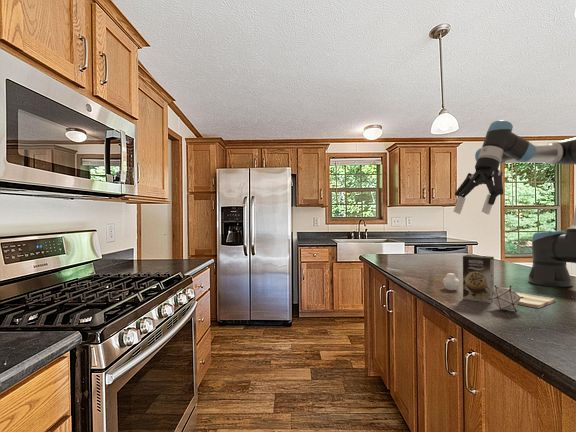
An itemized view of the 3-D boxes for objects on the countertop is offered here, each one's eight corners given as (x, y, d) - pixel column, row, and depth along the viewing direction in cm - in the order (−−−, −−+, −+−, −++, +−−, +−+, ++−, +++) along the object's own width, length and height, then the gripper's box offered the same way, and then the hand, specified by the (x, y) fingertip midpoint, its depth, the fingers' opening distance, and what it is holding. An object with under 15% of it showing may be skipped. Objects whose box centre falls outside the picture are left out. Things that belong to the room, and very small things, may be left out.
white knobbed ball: (441, 289, 136) (440, 273, 136) (445, 287, 141) (445, 270, 141) (457, 291, 132) (457, 274, 132) (461, 289, 137) (460, 272, 137)
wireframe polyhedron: (506, 320, 108) (517, 294, 110) (521, 318, 100) (533, 290, 102) (479, 305, 110) (491, 280, 112) (492, 302, 102) (504, 275, 104)
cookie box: (462, 299, 120) (461, 256, 120) (467, 296, 125) (466, 254, 125) (490, 303, 114) (490, 257, 114) (494, 299, 119) (494, 255, 119)
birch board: (514, 294, 126) (514, 291, 126) (555, 301, 115) (555, 298, 115) (496, 300, 119) (496, 297, 119) (538, 308, 108) (538, 305, 108)
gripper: (456, 161, 133) (439, 209, 132) (511, 150, 109) (490, 208, 107) (470, 168, 135) (453, 216, 133) (527, 159, 111) (507, 217, 109)
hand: (470, 212), depth 120 cm, fingers open, 13 cm apart
